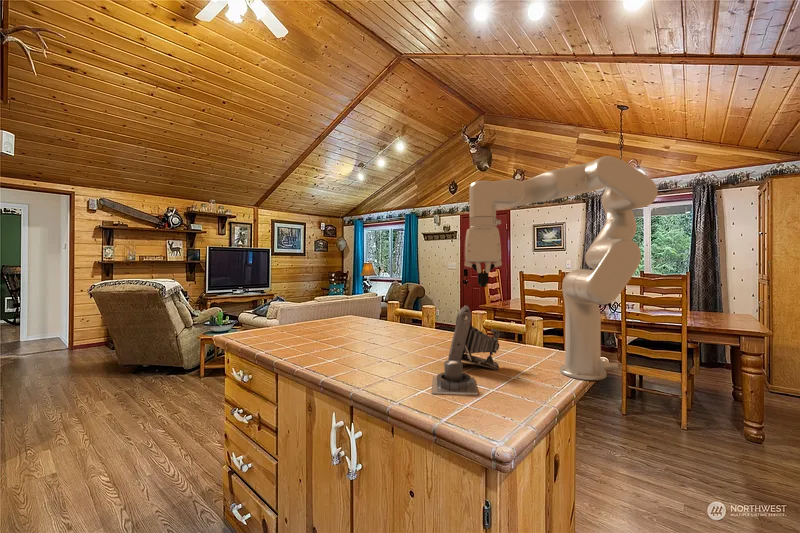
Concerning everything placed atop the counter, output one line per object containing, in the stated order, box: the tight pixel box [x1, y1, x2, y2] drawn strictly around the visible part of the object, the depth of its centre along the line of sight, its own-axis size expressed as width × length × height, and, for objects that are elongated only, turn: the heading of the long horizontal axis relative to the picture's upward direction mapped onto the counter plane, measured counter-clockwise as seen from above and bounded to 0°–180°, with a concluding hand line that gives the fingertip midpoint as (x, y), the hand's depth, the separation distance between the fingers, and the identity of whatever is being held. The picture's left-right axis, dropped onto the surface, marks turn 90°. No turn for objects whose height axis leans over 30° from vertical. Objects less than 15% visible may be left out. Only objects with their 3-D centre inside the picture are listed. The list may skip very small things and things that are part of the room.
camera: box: [447, 304, 500, 371], centre depth 117 cm, size 11×17×20 cm, turn 79°
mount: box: [430, 371, 479, 396], centre depth 99 cm, size 12×12×3 cm
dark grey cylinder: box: [443, 359, 464, 381], centre depth 99 cm, size 5×5×6 cm
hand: (483, 286), depth 105 cm, fingers closed
